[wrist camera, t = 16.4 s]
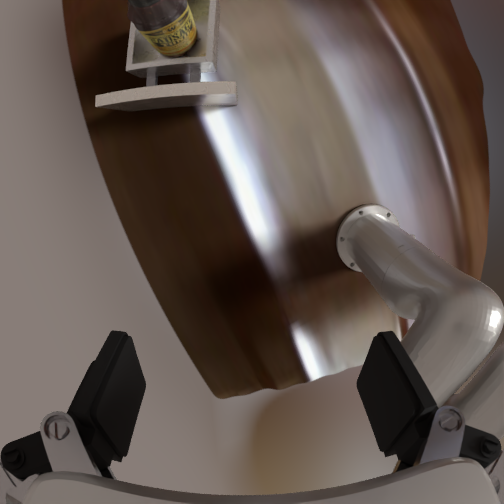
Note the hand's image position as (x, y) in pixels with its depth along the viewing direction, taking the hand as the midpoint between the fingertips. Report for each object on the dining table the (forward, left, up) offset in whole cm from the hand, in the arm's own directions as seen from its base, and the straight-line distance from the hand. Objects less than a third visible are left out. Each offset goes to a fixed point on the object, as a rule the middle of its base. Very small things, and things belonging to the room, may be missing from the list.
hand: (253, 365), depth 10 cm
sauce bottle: (+10, -23, -32) cm, 41 cm away
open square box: (+10, -21, -36) cm, 43 cm away
